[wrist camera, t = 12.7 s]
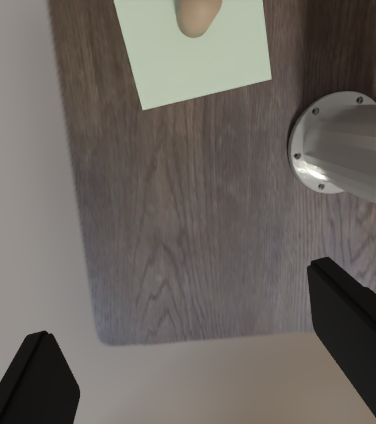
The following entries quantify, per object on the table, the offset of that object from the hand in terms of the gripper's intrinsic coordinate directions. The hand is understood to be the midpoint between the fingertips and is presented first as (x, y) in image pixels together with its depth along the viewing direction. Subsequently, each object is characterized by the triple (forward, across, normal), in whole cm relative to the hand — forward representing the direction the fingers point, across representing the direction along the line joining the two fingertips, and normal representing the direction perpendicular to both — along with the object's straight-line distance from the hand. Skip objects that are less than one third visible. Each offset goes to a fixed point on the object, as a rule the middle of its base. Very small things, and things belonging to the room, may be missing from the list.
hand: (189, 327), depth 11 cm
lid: (+23, -6, -14) cm, 28 cm away
